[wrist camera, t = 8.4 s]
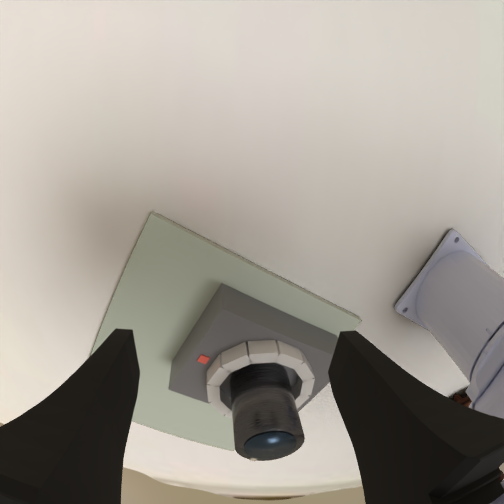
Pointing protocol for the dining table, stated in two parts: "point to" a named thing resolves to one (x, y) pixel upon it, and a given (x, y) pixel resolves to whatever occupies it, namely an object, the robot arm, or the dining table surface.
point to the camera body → (249, 350)
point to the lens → (264, 412)
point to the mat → (192, 319)
